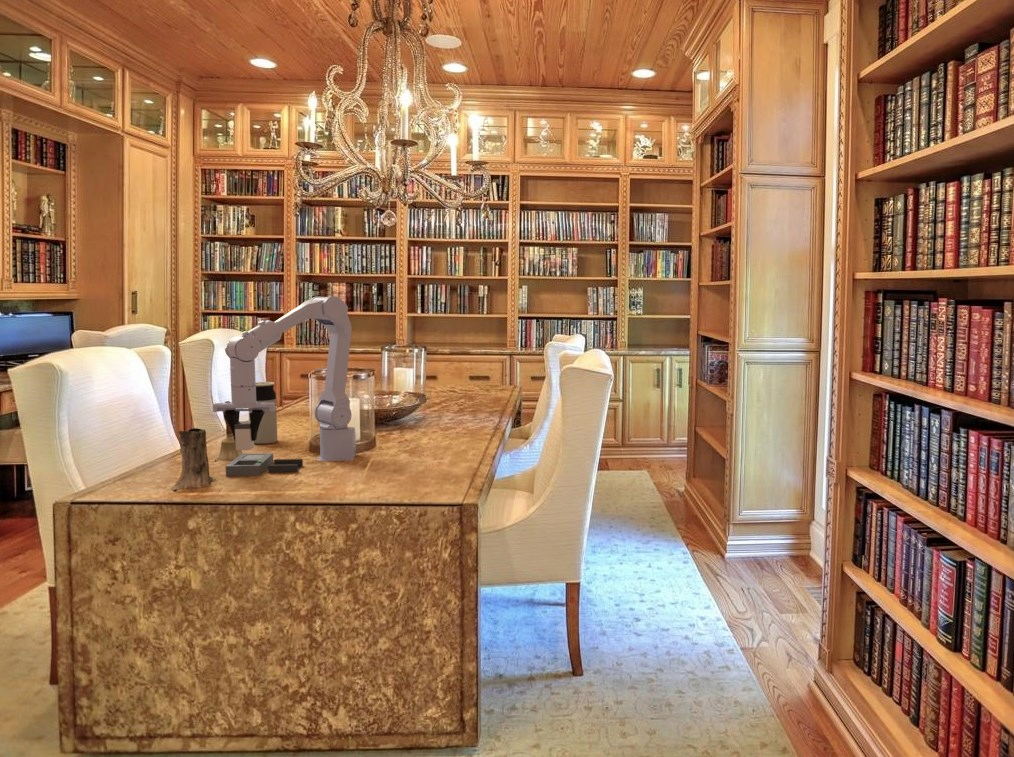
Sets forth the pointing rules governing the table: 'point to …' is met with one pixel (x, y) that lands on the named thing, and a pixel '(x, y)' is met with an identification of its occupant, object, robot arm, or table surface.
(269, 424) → the travel mug
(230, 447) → the hand bell
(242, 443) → the plug
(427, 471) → the table surface
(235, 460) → the port panel
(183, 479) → the tree stump
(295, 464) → the dark grey bracket
